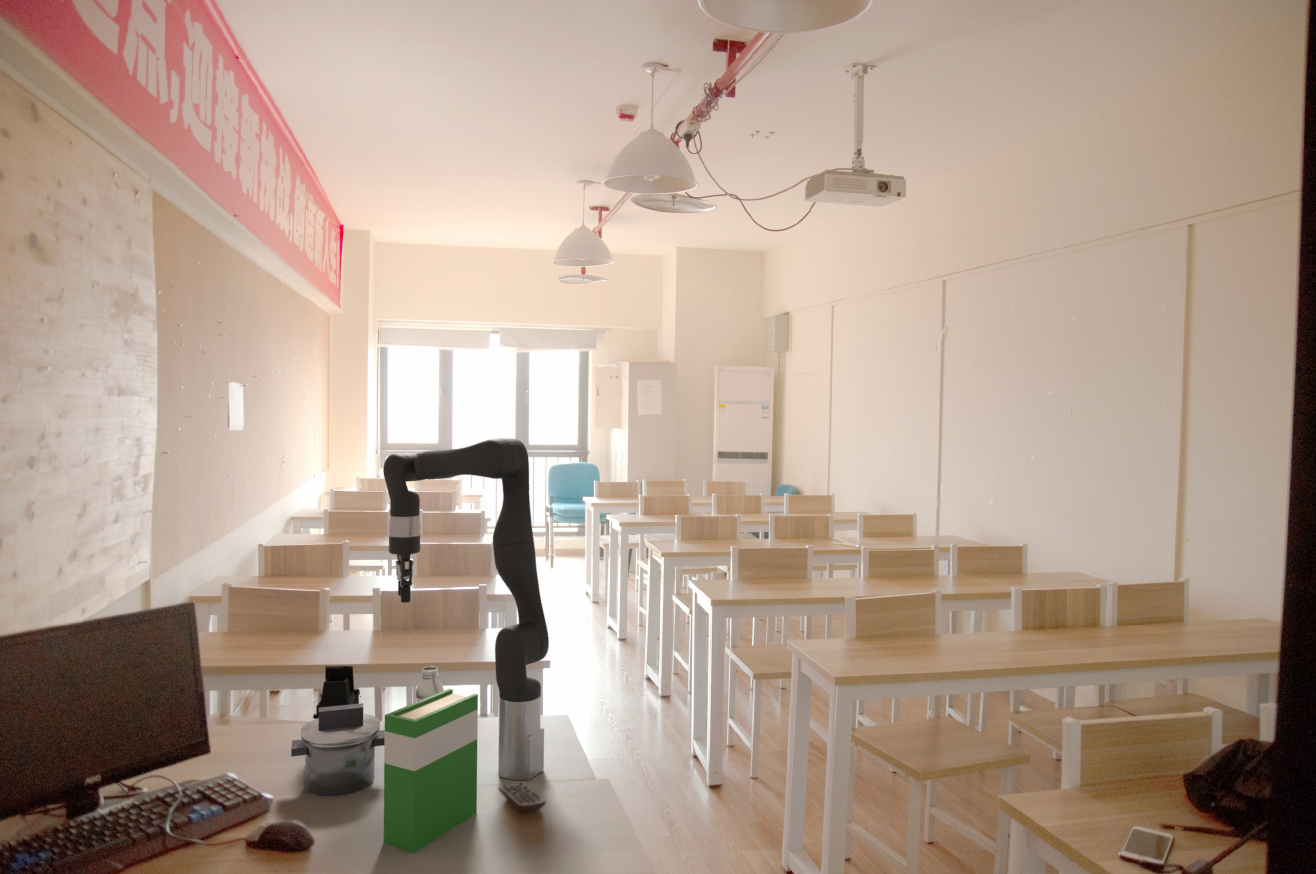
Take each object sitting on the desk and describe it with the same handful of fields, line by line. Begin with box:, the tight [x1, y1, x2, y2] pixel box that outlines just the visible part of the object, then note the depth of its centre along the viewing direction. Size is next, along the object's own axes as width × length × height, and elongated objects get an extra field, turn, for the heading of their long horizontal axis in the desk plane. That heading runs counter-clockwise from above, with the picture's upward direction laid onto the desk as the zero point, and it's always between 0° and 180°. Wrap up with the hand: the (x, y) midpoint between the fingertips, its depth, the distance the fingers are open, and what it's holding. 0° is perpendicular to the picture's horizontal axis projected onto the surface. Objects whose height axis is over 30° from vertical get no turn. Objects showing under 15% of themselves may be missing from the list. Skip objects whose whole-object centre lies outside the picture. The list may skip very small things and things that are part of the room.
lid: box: [300, 703, 381, 746], centre depth 181 cm, size 16×16×5 cm
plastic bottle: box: [414, 666, 445, 702], centre depth 198 cm, size 6×7×20 cm
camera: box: [312, 665, 362, 720], centre depth 200 cm, size 10×14×20 cm
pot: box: [290, 729, 385, 797], centre depth 182 cm, size 19×15×11 cm
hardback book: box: [383, 688, 479, 854], centre depth 162 cm, size 18×7×24 cm, turn 153°
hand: (404, 598), depth 208 cm, fingers open, 8 cm apart
